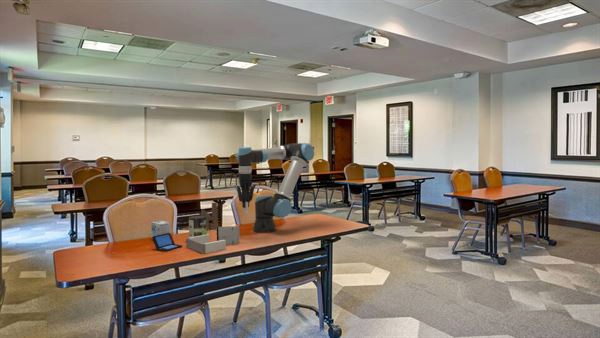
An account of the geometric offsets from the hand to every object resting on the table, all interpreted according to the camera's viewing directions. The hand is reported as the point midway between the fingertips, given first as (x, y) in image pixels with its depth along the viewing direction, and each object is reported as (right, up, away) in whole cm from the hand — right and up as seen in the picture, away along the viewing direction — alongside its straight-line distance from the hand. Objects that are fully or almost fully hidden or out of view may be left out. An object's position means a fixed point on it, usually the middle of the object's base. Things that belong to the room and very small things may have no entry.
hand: (245, 213), depth 229 cm
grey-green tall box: (-29, -17, +3) cm, 34 cm away
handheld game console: (-41, -18, -15) cm, 47 cm away
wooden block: (-29, -15, +34) cm, 47 cm away
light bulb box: (-52, -17, +6) cm, 55 cm away
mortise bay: (-20, -17, -16) cm, 31 cm away
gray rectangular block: (-9, -17, -7) cm, 20 cm away
